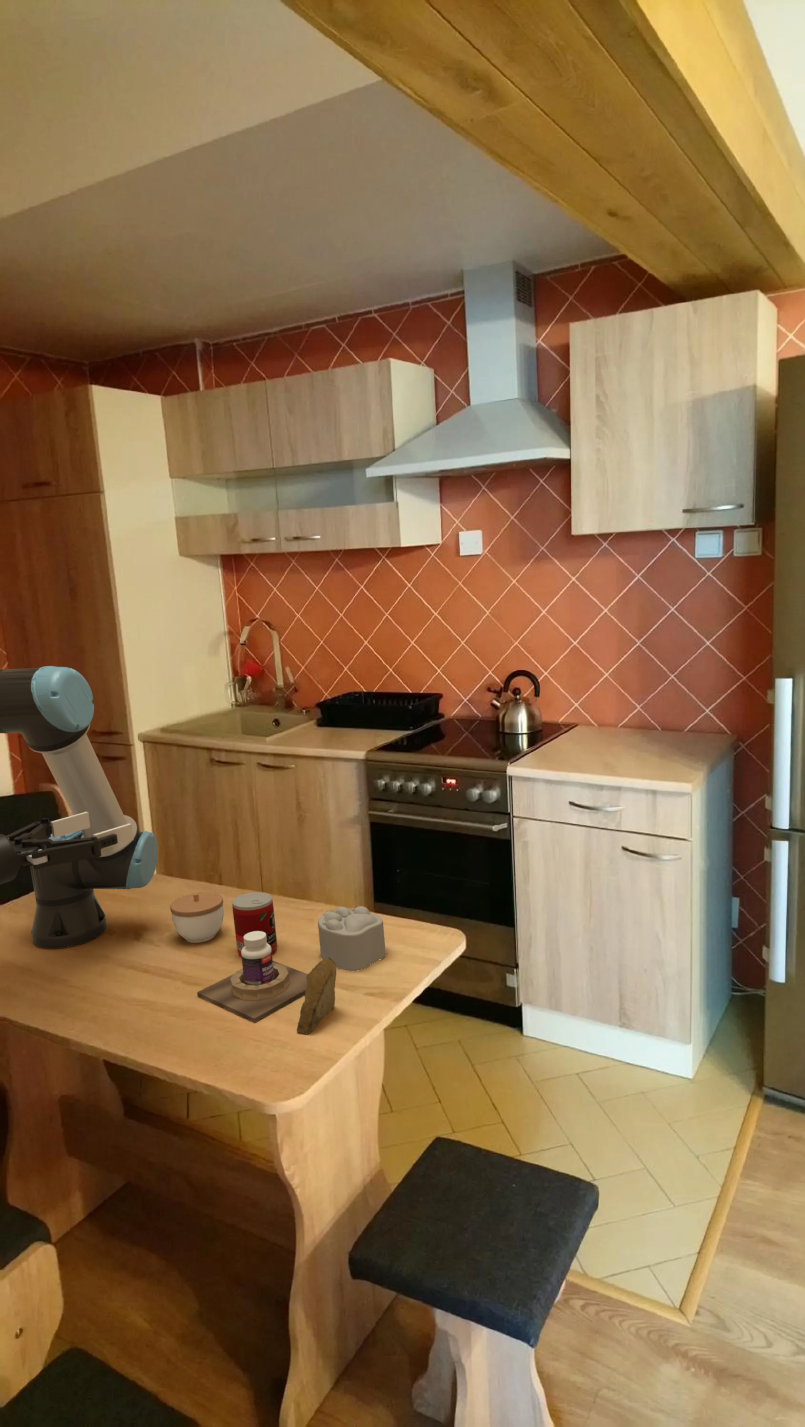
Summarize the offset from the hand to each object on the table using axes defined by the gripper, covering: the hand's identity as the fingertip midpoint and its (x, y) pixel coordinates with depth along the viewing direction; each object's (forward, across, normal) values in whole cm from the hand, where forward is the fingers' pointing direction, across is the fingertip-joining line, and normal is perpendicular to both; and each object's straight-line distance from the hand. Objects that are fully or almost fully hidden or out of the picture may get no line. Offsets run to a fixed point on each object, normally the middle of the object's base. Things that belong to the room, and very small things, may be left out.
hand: (109, 825), depth 149 cm
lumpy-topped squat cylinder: (+37, +17, -34) cm, 53 cm away
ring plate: (+18, +13, -34) cm, 40 cm away
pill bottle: (+18, +13, -33) cm, 40 cm away
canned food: (+28, 0, -34) cm, 44 cm away
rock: (+17, +28, -34) cm, 47 cm away
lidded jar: (+26, -16, -34) cm, 46 cm away
